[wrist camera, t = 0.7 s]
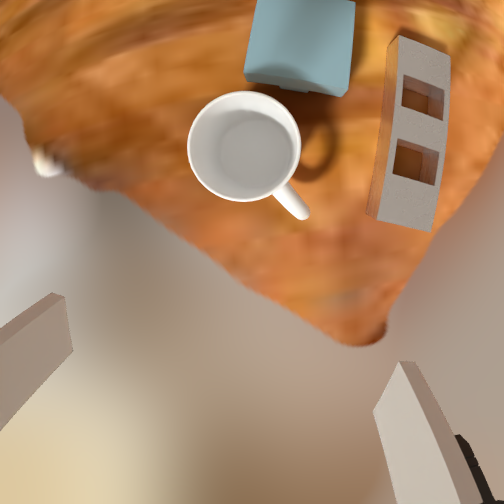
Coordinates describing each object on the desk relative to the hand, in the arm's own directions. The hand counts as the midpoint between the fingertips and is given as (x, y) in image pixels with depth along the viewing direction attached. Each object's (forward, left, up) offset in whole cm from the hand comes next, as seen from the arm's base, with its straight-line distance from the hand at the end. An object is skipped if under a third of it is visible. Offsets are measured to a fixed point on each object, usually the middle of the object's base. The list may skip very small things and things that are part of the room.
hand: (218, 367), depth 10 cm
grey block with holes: (-14, +14, -23) cm, 31 cm away
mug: (-7, 0, -24) cm, 25 cm away
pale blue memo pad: (-20, +1, -23) cm, 31 cm away
